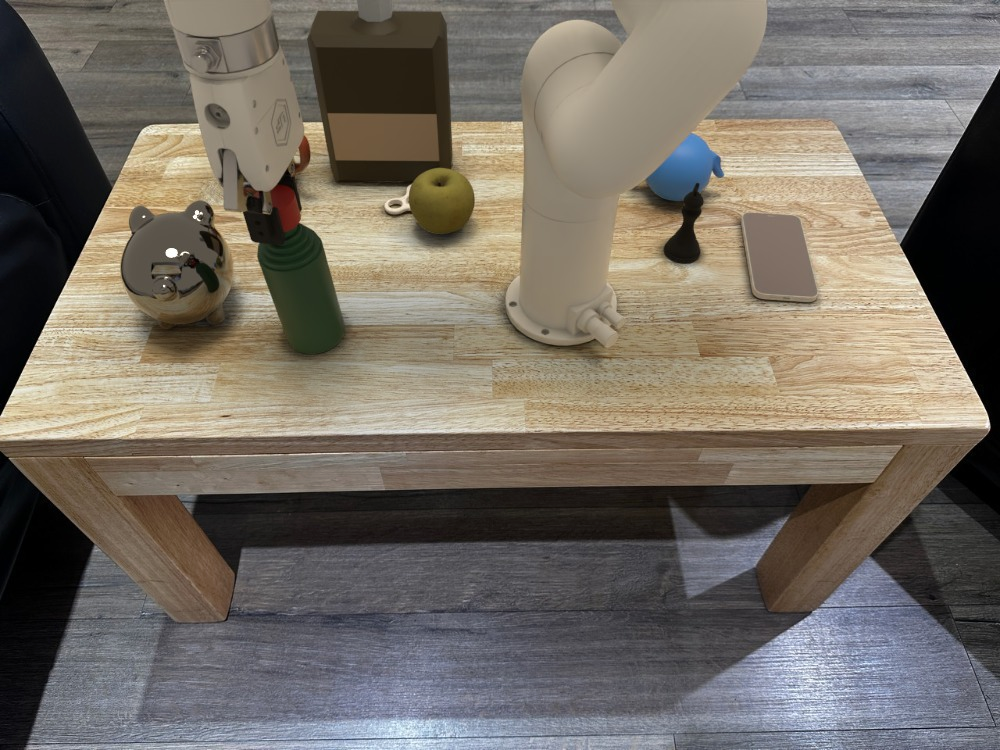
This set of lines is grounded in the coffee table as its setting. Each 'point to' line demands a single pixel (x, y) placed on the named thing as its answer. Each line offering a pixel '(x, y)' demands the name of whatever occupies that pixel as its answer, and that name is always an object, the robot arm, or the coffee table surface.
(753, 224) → the smartphone
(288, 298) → the sauce bottle
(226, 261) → the piggy bank
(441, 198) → the apple
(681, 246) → the chess piece
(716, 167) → the blue mole toy
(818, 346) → the coffee table surface
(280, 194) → the cap
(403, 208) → the fidget spinner
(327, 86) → the bottle
